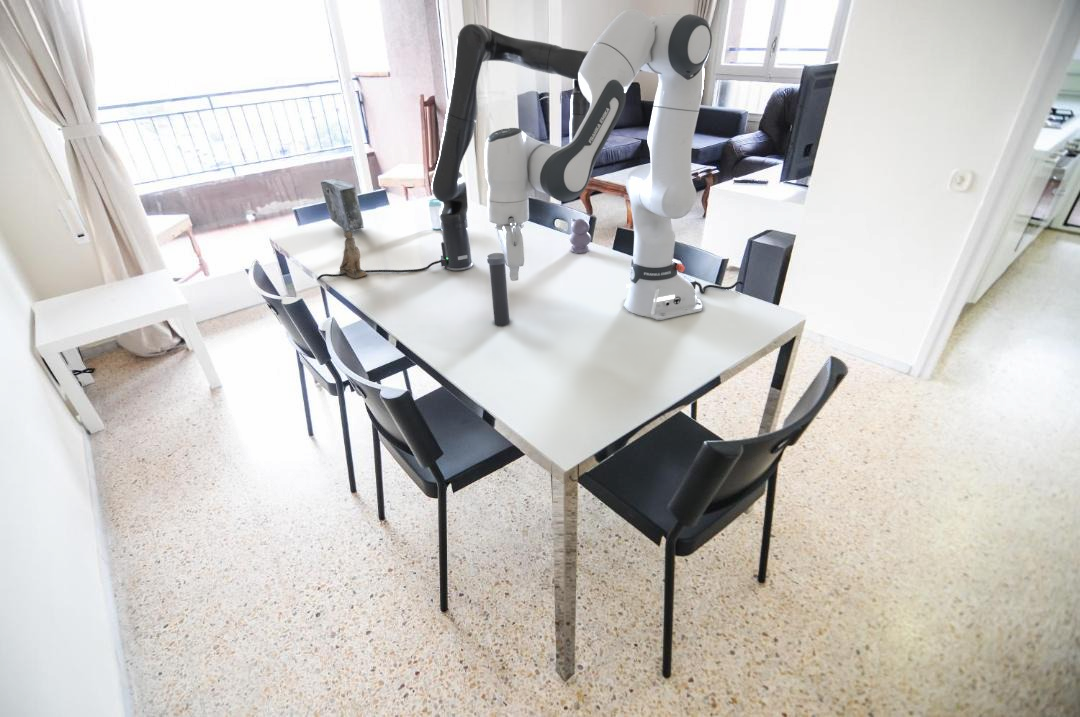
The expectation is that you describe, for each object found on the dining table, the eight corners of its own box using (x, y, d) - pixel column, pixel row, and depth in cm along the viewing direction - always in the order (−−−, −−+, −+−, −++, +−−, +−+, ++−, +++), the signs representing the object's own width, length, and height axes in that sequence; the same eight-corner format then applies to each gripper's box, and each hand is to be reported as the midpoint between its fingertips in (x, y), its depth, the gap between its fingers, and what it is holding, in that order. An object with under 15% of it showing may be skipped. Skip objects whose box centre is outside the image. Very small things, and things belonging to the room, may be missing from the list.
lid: (483, 263, 132) (483, 257, 131) (495, 257, 135) (494, 251, 134) (498, 266, 129) (498, 260, 129) (509, 260, 133) (509, 254, 132)
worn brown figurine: (368, 281, 178) (362, 235, 166) (353, 285, 175) (347, 238, 163) (352, 266, 184) (346, 221, 172) (338, 270, 181) (331, 224, 169)
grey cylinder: (491, 323, 141) (485, 258, 131) (500, 318, 144) (494, 253, 134) (503, 327, 139) (498, 261, 129) (512, 321, 142) (507, 256, 132)
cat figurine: (595, 249, 191) (595, 218, 185) (582, 255, 186) (582, 223, 180) (577, 245, 196) (578, 214, 190) (564, 250, 191) (564, 219, 185)
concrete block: (369, 233, 219) (358, 186, 208) (349, 237, 215) (337, 190, 204) (349, 220, 237) (339, 177, 227) (331, 224, 233) (319, 180, 223)
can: (445, 229, 220) (441, 202, 214) (429, 230, 220) (425, 202, 214) (447, 224, 226) (444, 198, 220) (432, 225, 226) (428, 198, 220)
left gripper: (574, 127, 153) (574, 181, 162) (564, 133, 142) (565, 192, 150) (598, 127, 152) (597, 182, 160) (590, 133, 140) (589, 192, 148)
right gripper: (530, 223, 99) (532, 288, 106) (517, 199, 116) (519, 256, 123) (498, 226, 98) (502, 290, 105) (490, 201, 115) (494, 258, 123)
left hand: (581, 186), depth 155 cm, fingers open, 8 cm apart
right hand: (511, 271), depth 114 cm, fingers open, 8 cm apart
